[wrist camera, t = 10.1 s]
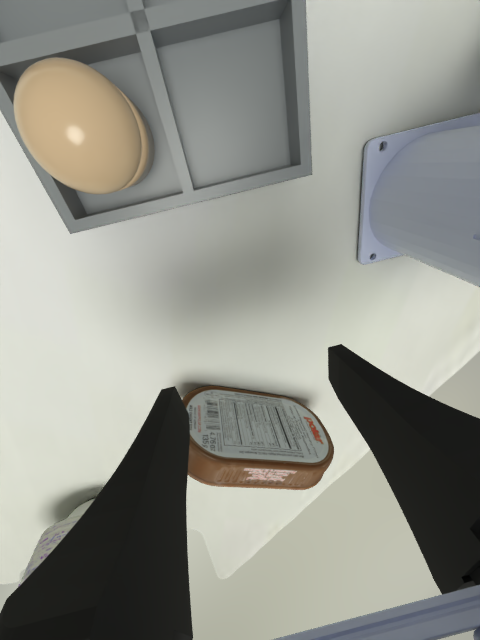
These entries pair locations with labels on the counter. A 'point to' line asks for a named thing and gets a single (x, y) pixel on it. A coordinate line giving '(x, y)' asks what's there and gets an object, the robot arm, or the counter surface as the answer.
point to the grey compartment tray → (177, 92)
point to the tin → (254, 440)
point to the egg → (82, 127)
